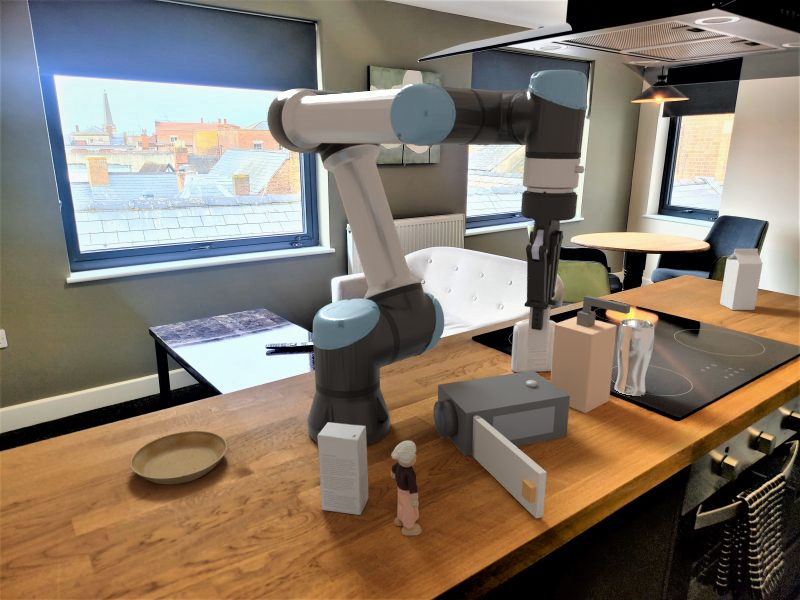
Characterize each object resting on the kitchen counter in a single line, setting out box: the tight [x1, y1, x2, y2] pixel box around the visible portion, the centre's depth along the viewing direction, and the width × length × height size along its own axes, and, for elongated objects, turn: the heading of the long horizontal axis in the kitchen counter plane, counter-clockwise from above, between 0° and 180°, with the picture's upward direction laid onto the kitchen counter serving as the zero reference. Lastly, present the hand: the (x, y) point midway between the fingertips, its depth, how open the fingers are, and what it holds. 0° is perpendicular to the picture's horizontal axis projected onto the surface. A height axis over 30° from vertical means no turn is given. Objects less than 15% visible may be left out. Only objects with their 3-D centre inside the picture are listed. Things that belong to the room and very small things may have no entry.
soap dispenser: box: [550, 295, 631, 414], centre depth 109 cm, size 13×9×22 cm
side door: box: [471, 415, 547, 519], centre depth 84 cm, size 18×2×7 cm, turn 23°
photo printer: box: [510, 318, 557, 373], centre depth 127 cm, size 10×4×12 cm, turn 98°
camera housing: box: [433, 371, 570, 457], centre depth 100 cm, size 22×12×9 cm, turn 109°
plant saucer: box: [130, 430, 228, 485], centre depth 91 cm, size 15×15×3 cm
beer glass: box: [614, 318, 656, 397], centre depth 116 cm, size 7×7×15 cm
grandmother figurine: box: [390, 440, 423, 537], centre depth 75 cm, size 8×4×13 cm, turn 35°
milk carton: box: [719, 248, 763, 311], centre depth 175 cm, size 7×7×19 cm
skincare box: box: [317, 422, 369, 516], centre depth 79 cm, size 6×4×12 cm
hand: (537, 347), depth 84 cm, fingers closed
